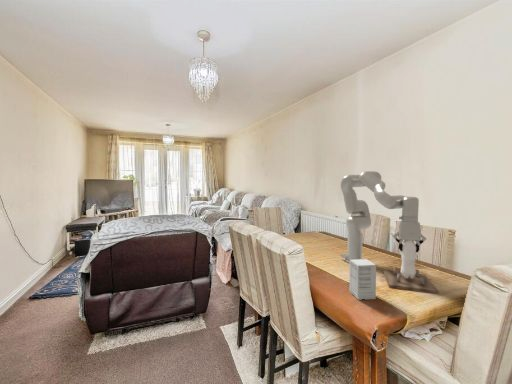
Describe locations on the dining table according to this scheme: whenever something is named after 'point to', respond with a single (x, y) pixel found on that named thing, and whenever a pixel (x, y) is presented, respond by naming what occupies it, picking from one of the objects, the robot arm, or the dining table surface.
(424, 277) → the peg stand
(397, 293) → the dining table surface
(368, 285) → the supplement box
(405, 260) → the water bottle
